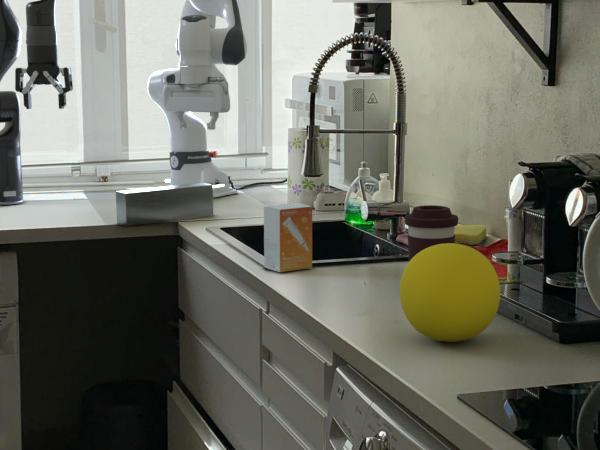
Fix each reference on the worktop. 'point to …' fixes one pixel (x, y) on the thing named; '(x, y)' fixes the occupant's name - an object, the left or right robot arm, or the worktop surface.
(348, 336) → the worktop surface
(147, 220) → the bar
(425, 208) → the coffee cup
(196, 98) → the right robot arm
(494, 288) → the toy
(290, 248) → the small box
